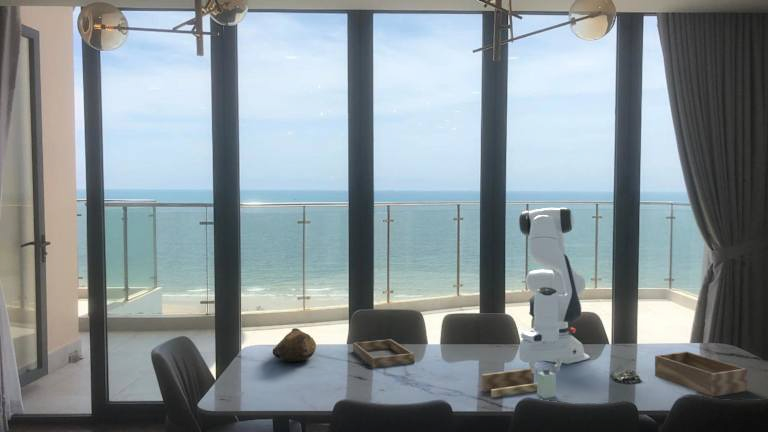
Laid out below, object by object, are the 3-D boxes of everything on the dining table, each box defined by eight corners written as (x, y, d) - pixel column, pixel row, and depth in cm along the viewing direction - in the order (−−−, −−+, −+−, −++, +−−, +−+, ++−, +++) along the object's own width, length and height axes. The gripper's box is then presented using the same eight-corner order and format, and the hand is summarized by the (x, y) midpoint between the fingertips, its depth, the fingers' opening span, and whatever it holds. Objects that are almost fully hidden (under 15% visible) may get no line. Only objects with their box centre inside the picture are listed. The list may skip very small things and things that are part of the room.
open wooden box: (686, 370, 234) (686, 351, 234) (746, 390, 210) (747, 369, 210) (654, 375, 228) (655, 355, 228) (713, 396, 204) (713, 374, 204)
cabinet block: (548, 392, 208) (548, 367, 208) (555, 396, 205) (555, 370, 204) (537, 394, 207) (537, 368, 206) (543, 398, 203) (544, 371, 203)
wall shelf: (531, 383, 219) (531, 367, 219) (544, 389, 212) (544, 373, 211) (481, 390, 211) (481, 374, 211) (492, 397, 204) (493, 380, 203)
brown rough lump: (306, 372, 233) (305, 336, 233) (262, 371, 235) (262, 335, 235) (324, 348, 270) (323, 317, 270) (286, 348, 272) (286, 316, 271)
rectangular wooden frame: (391, 347, 272) (391, 339, 272) (414, 362, 247) (414, 353, 246) (353, 351, 265) (353, 343, 265) (373, 367, 240) (373, 358, 240)
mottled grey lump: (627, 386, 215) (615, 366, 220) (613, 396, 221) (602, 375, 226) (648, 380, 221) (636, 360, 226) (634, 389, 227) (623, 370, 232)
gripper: (564, 329, 211) (563, 366, 212) (517, 333, 204) (516, 372, 204) (575, 333, 206) (575, 371, 206) (527, 337, 198) (527, 377, 199)
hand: (545, 372), depth 205 cm, fingers open, 8 cm apart
